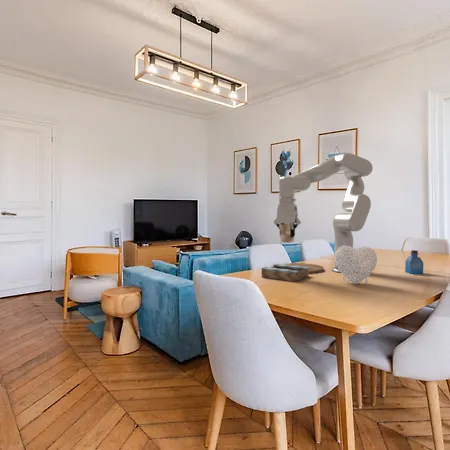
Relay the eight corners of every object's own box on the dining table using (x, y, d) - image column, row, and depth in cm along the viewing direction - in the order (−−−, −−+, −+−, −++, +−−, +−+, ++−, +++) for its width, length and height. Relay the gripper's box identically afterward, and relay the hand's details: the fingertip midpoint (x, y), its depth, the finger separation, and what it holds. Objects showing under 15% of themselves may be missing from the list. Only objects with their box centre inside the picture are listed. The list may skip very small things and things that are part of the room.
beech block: (293, 241, 170) (293, 224, 170) (289, 242, 166) (289, 224, 166) (284, 241, 173) (284, 223, 173) (280, 242, 169) (280, 224, 169)
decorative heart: (331, 283, 152) (332, 246, 151) (337, 279, 161) (338, 244, 160) (374, 288, 142) (375, 248, 141) (378, 283, 151) (379, 246, 150)
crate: (308, 276, 169) (308, 267, 169) (294, 281, 156) (294, 271, 156) (276, 272, 180) (276, 263, 179) (261, 277, 167) (261, 268, 167)
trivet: (291, 264, 205) (291, 261, 205) (330, 269, 189) (330, 266, 189) (269, 270, 186) (269, 267, 186) (311, 276, 170) (311, 272, 170)
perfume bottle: (417, 272, 177) (417, 249, 176) (423, 274, 170) (423, 251, 170) (405, 272, 177) (405, 249, 177) (410, 274, 171) (410, 251, 170)
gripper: (305, 200, 167) (306, 237, 167) (275, 201, 177) (275, 235, 177) (299, 200, 160) (299, 238, 161) (268, 201, 170) (268, 237, 171)
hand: (287, 236), depth 169 cm, fingers closed on beech block, 5 cm apart
